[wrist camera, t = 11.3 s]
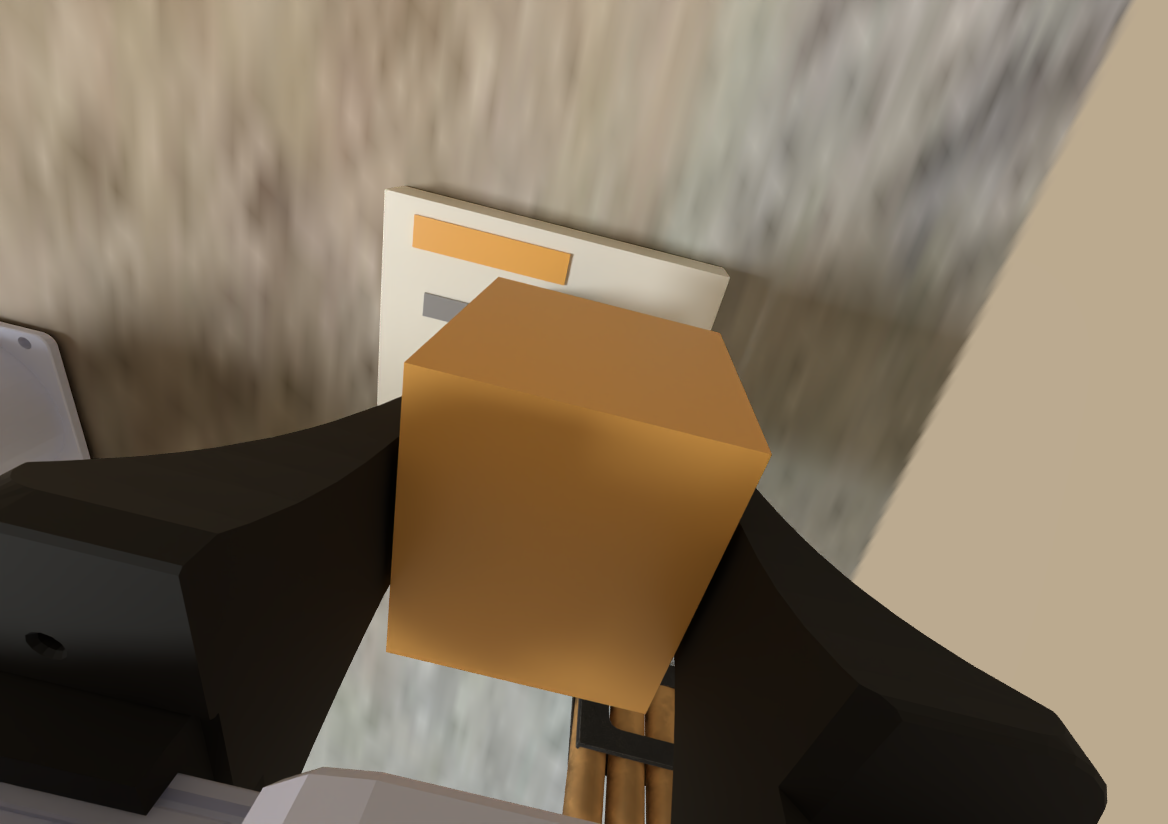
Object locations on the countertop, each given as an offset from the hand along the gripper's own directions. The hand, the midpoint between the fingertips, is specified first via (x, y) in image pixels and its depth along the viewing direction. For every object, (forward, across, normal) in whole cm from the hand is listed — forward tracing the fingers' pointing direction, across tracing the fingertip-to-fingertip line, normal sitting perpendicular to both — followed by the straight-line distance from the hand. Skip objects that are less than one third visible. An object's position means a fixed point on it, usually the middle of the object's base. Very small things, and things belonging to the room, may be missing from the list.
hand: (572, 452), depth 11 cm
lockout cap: (+1, 0, 0) cm, 1 cm away
